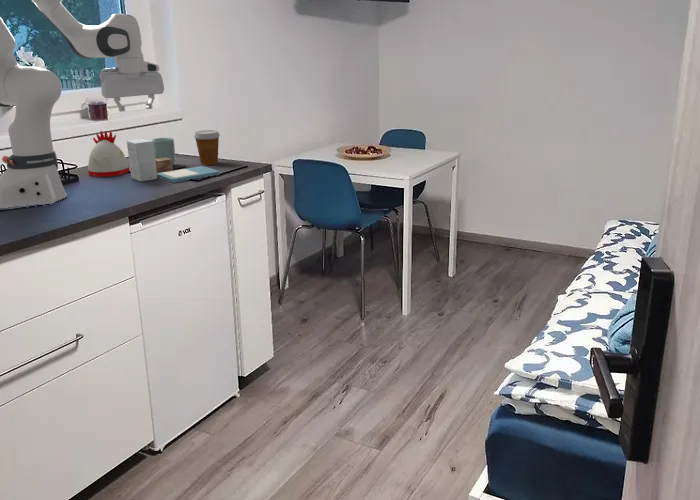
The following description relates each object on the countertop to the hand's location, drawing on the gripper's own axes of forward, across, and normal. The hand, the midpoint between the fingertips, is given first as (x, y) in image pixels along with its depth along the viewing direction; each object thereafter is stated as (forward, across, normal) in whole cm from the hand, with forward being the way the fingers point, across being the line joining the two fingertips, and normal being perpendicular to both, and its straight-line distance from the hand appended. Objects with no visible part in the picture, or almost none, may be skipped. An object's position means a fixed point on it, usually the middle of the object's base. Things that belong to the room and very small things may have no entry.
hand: (136, 110), depth 211 cm
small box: (+24, 0, 0) cm, 24 cm away
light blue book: (+23, +13, -7) cm, 28 cm away
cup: (+24, +15, +15) cm, 32 cm away
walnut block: (+23, +9, +4) cm, 25 cm away
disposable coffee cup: (+24, +29, +7) cm, 38 cm away
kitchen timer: (+24, -5, +19) cm, 31 cm away
